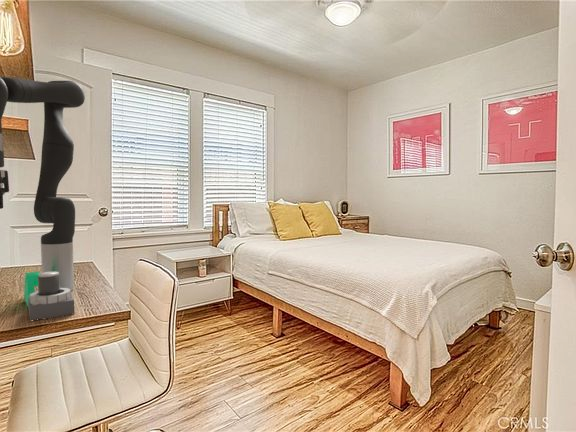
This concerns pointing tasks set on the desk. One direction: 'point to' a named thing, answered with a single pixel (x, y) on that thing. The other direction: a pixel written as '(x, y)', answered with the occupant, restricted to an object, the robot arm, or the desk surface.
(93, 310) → the desk surface
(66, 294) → the segmented ring socket plate
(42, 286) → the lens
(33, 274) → the camera mount
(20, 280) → the desk surface
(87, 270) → the desk surface
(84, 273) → the desk surface
